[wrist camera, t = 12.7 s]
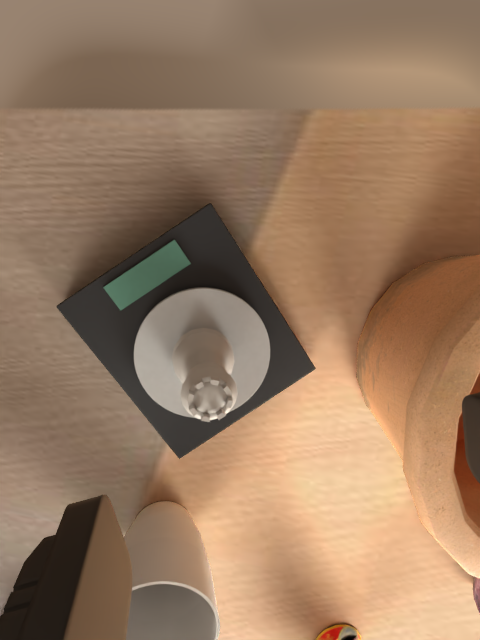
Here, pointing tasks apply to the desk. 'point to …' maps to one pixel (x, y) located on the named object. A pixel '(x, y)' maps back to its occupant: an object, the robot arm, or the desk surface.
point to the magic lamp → (339, 633)
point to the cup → (170, 577)
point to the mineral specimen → (476, 591)
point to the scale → (186, 325)
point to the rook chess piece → (205, 373)
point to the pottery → (429, 392)
